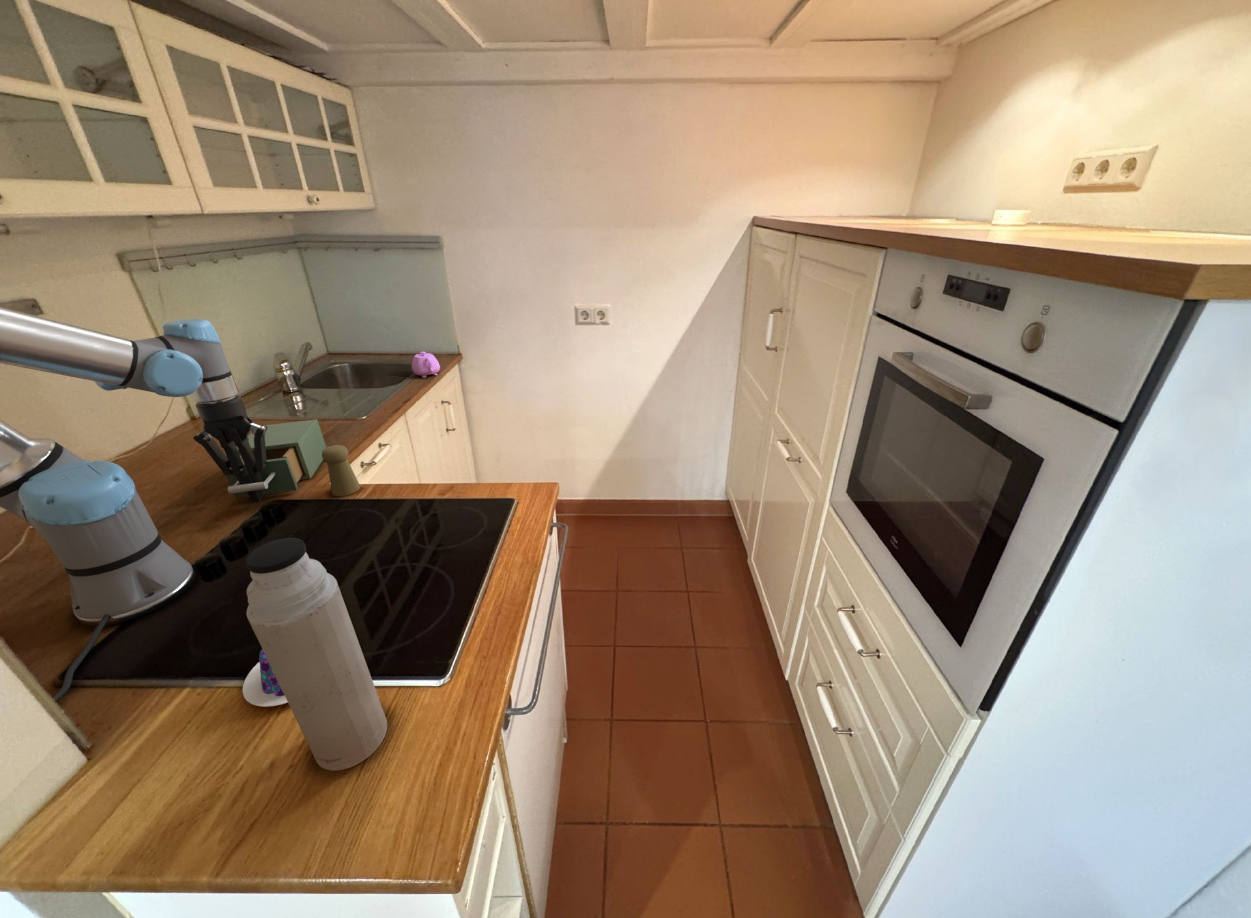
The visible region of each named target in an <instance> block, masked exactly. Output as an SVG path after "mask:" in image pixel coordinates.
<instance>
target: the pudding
mask: <svg viewBox="0 0 1251 918" xmlns="http://www.w3.org/2000/svg"><path fill="white" fill-rule="evenodd" d="M258 660H259V662H257V663H256V664H255V666H253V667H252V669H251V670H250V671H249V673H248V674H247V675H246V677H245V679H244V682H243V685H242V694H243V698H244V699H245V701H247V703H249V704H250V705H254V706H257V707H275V706H281V705H284V704H287V703H288V701H287V699H286V697H285V695H284V693H283V691H282V689H281V687H280V685H279V683H278V681H277V678H276V676H275V674H274V672H273V670H272V668H271V666H270V664H269V662H268V660H267V657H266V655H265V653H264V651H263V649H262V648H261V649H260V652H259V657H258ZM288 704H289V703H288Z"/></svg>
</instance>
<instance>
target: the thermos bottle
mask: <svg viewBox="0 0 1251 918" xmlns="http://www.w3.org/2000/svg"><path fill="white" fill-rule="evenodd" d="M245 566H246V568H247V570H248V571H250V573H249V575H250V578H251V580H252V581H251V582H250V583H249V584H248V586H247V589H246V596H247V604H248V606H247V609H246V617H247V620H248V623H249V624H250V626H251V628H252V631H253V632H254V634H255V637H256V638H257V640H258V643H259V645H260V646H261V650H262V649H263V651H264V653H265V655H266V657H267V660H268V662H269V664H270V666H271V668H272V670H273V672H274V674H275V676H276V678H277V681H278V683H279V685H280V687H281V689H282V691H283V693H284V695H285V697H286V699H287V701H288V706H289V708H290V710H291V712H292V714H293V717H294V718H295V720H296V722H297V724H298V726H299V728H300V731H301V732H302V735H303V737H304V739H305V741H306V743H307V745H308V747H309V749H310V751H311V754H312V755H313V759H314V760H315V762H316V764H317V765H318V766H319V767H320V768H323V769H324V770H326V771H332V772H335V771H337V772H338V771H343V770H347V769H350V768H352V767H355V766H357V765H358V764H361V763H362V762H364V761H365V760H366V759H368V758H369V757H370V756H371V755H373V754H374V753H375V751H376V750H377V749H379V748H380V745H381V744H382V743H383V741H384V739H385V737H386V734H387V730H388V721H387V717H386V714H385V712H384V709H383V707H382V704H381V701H380V698H379V695H378V692H377V689H376V687H375V684H374V681H373V679H372V676H371V673H370V669H369V668H368V665H367V661H366V659H365V656H364V654H363V650H362V648H361V645H360V643H359V639H358V637H357V634H356V631H355V629H354V626H353V623H352V620H351V617H350V614H349V612H348V609H347V606H346V603H345V601H344V597H343V596H342V592H341V589H340V586H339V583H338V581H337V579H336V577H334V576H333V575H332V574H331V573H328V572H327V569H326V568H325V566H323V565H322V563H321V561H318V560H316V559H314V558H310V557H309V554H308V553H307V546H306V543H305V542H304V540H302V539H301V538H298V537H285V538H280V539H275V540H271V541H269V542H267V543H264V544H262V545H261V546H260V545H259V547H257V548H255V549H254V550H252V551H251V552H250V553H249V554H248V555H247V557H246V558H245Z"/></svg>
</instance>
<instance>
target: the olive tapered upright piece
mask: <svg viewBox="0 0 1251 918" xmlns="http://www.w3.org/2000/svg"><path fill="white" fill-rule="evenodd" d="M348 457H349V451H348V449H347V447H346V446H344V445H341V444H335V445H330V446H326V448H325V449H324V450H323V452H322V458H323V461H324V462H325V463H326V464H327V471H328V477H329V483H330V489H331V494H332V496H334V497H345V496H349V495H352V494H354V493H356V492H358V491H359V490H361V485H360V482H359V481H358V479H357V476H356V474H355V472H354V470H353V468H352V466H351V464H350V461H349V460H348Z"/></svg>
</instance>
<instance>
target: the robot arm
mask: <svg viewBox="0 0 1251 918" xmlns="http://www.w3.org/2000/svg"><path fill="white" fill-rule="evenodd" d="M162 330H163V331H162V332H163V335H158V336H155V337H149V338H144V339H137V340H131V339H128V338H125V337H121V336H116V335H114V334H113V335H112V334H109V333H106V332H102V331H97V330H94V329H89V328H85V327H81V326H78V325H73V324H69V323H65V322H61V321H57V320H54V319H50V318H46V317H42V316H39V315H34V314H31V313H30V314H29V313H26V312H23V311H18V310H15V309H14V310H13V309H10V308H7V307H3V306H0V364H1V365H6V366H11V367H17V368H22V369H29V370H32V371H33V370H34V371H39V372H44V373H49V374H55V375H61V376H66V377H71V378H77V379H82V380H87V381H93V382H94V383H95V384H96V385H97V386H98V388H100V389H101V390H104V391H108V392H110V391H117V390H127V389H132V390H133V389H134V390H138V391H144V392H149V393H154V394H156V395H159V396H161V397H169V398H182V397H187V396H191V399H192V401H193V402H195V408H196V411H197V414H198V415H199V418H200V420H201V421H202V422H203V424H202V429H203V430H201V431H199V432H198V433H197V434H195V435H194V436H193V437H192V438H193V440H194V441H195V442H197V444H199V445H201V447H203V449H205V451H206V452H207V453H208V455H209V456H210V457H211V459H212V460H213V461H214V463H215V464H216V465H217V468H219V469H220V471H221V472H222V473H223V474H224V475H225V476H226V475H229V474H232V475H235V476H236V477H237V479H238V481H239V484H240V485H243V484H251V483H259V482H263V481H262V478H261V475H260V473H259V471H261V470H263V468H264V467H265V466H266V465H267V460H266V446H265V433H266V431H267V426H266V425H267V424H262V425H259V424H256V423H254V421H253V420H252V418H250V417H249V415H248V414H247V413H248V412H247V409H246V407H245V405H244V404H245V403H244V402H243V399H242V396H240V395H239V393H240V390H239V389H238V387H237V384H236V381H235V379H234V375H233V373H232V371H231V368H230V366H229V363H228V360H227V357H226V354H225V351H224V348H223V345H222V341H221V340H220V337H219V336H218V335H219V334H218V333H217V331H216V329H215V327H214V325H213V323H212V322H210V321H209V320H207V319H202V318H191V319H181V320H174V321H169V322H166V323H164V324H163V325H162ZM250 431H251V433H252V434H253V435H255V436H254V448H255V457H254V454H253V452H252V449H251V447H250V444H249V438H248V436H249V433H250ZM215 439H216V440H217V441H218V442H219V444H220V445H219V444H218V443H217V441H216V440H215ZM237 447H238V449H239V452H240V454H241V457H242V459H243V462H244V464H245V467H246V468H245V467H244V465H243V462H242V460H241V457H240V455H239V452H238V450H237ZM222 449H223V450H222ZM246 469H247V471H246V472H245V470H246ZM247 492H248V495H249V496H248V497H249V500H250V502H251V504H252V503H260V502H261V500H262V499H263V498H264V496H265V494H263V492H262V490H254V491H247ZM0 508H2V509H4V510H6V511H7V512H9V513H11V514H13V515H15V516H17V517H18V518H20V519H22V520H23V521H25V522H26V523H28V525H30V526H31V527H32V528H33V529H34V530H35V531H37V532H38V533H39V534H40V535H41V536H42V537H43V539H44V540H45V541H46V543H47V544H48V546H49V547H50V549H51V550H52V552H53V553H54V555H55V557H56V558H57V559H58V561H59V562H60V564H61V565H62V567H63V569H64V570H65V571H66V573H67V575H68V576H69V582H70V583H69V584H70V595H71V603H72V604H71V607H72V611H73V614H74V616H75V617H76V619H77V620H78V622H79V623H81V624H82V625H84V626H88V627H95V629H94V631H93V632H92V633H91V635H90V637H89V638H88V640H87V642H86V644H85V645H84V647H83V648H82V650H81V652H80V653H79V654H78V656H77V657H76V658H75V659H74V661H73V662H72V663H71V664H70V666H69V667H68V669H67V671H66V673H65V675H64V679H63V684H62V686H61V688H60V689H59V690H58V691H57V692H56V693H55V694H54V695H53V696H52V697H53V698H55V700H56V702H55V703H57V702H58V701H59V700H61V698H63V697H64V695H66V693H67V692H68V691H69V689H70V688H71V686H72V683H73V679H74V678H73V677H74V674H75V672H76V670H77V668H78V667H79V666H80V665H81V663H82V662H83V661H84V660H85V658H86V657H87V655H88V654H89V653H90V651H91V650H92V647H93V646H94V644H95V643H96V641H97V639H98V637H99V636H100V635H101V632H102V631H103V629H104V627H108V626H113V625H118V624H122V623H125V622H130V621H133V620H135V619H139V618H141V617H143V616H146V615H148V614H150V613H153V612H154V611H158V610H159V609H160V608H163V607H164V606H166V605H168V604H169V603H171V602H172V601H174V600H176V599H177V598H179V597H180V596H181V595H182V594H183V593H185V592H186V591H187V590H188V589H189V588H190V587H191V585H192V584H193V582H194V581H195V579H196V572H195V570H194V568H193V566H192V564H191V563H190V562H189V561H188V560H187V559H186V558H184V557H182V556H181V555H180V554H179V553H178V552H176V550H174V549H173V548H172V547H171V546H170V545H168V544H167V543H166V542H165V541H164V540H163V538H162V537H161V535H160V532H159V531H158V529H157V527H156V524H155V523H154V522H153V519H152V518H151V516H150V514H149V512H148V510H147V508H146V506H145V504H144V502H143V501H142V499H141V496H140V495H139V493H138V490H137V489H136V485H135V482H134V480H133V479H132V478H131V476H130V475H129V474H127V472H126V470H125V469H124V468H123V467H122V466H121V465H119V464H116V463H114V462H112V461H107V460H95V461H92V460H85V459H83V458H82V457H81V456H78V455H77V454H75V453H74V452H72V451H71V450H69V449H68V448H66V447H64V446H63V445H61V444H60V443H58V442H57V441H55V440H54V439H52V438H49V437H45V438H44V437H43V438H41V437H39V438H38V437H37V438H35V437H29V436H28V435H26V434H24V433H23V432H21V431H19V430H18V429H17V428H15V427H13V426H12V425H10V424H8V423H7V422H6V421H4V420H2V419H0Z"/></svg>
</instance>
